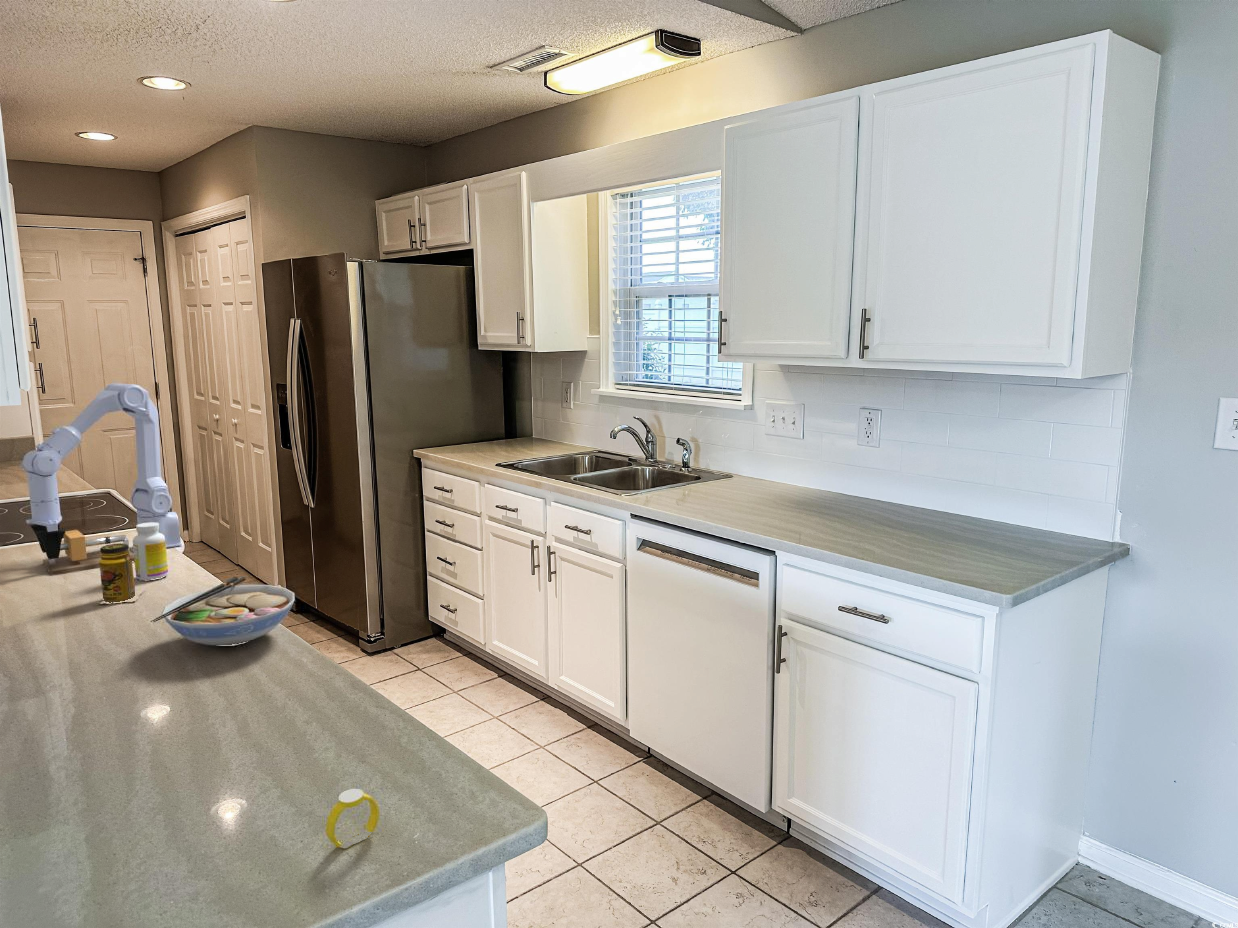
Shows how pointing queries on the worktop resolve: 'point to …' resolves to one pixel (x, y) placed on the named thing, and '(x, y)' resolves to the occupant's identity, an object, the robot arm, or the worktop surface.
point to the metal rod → (96, 543)
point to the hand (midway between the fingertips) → (50, 555)
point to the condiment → (116, 573)
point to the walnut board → (75, 563)
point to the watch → (351, 800)
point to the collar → (75, 545)
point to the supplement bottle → (149, 552)
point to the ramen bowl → (229, 612)
